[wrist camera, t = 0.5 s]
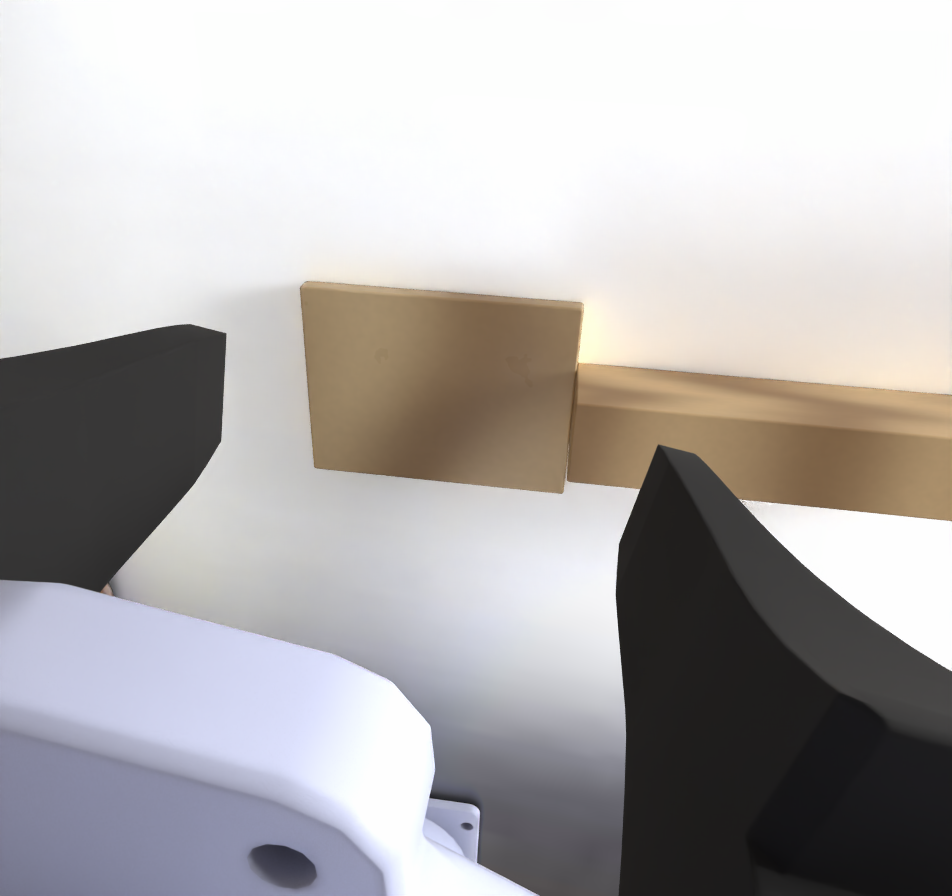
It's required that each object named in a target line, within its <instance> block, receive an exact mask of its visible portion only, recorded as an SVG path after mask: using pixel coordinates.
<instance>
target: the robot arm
mask: <svg viewBox="0 0 952 896" xmlns="http://www.w3.org/2000/svg"><path fill="white" fill-rule="evenodd" d="M225 353H226V333H223V332H219V331H215V330H211V329H207V328H203V327H199V326H195V325H191V324H186V325H174V326H168V327H162V328H156V329H151V330H146V331H141V332H137V333H132V334H128V335H123V336H118V337H114V338H109V339H105V340H100V341H95V342H91V343H86V344H81V345H76V346H71V347H65V348H60V349H55V350H49V351H44V352H38V353H33V354H27V355H22V356H16V357H10V358H3V359H0V896H539V895H537V894H535V893H533V892H531V891H529V890H528V889H526V888H524V887H522V886H520V885H518V884H516V883H514V882H512V881H510V880H508V879H506V878H504V877H503V876H501V875H499V874H497V873H495V872H493V871H491V870H489V869H487V868H485V867H483V866H481V865H479V864H478V863H477V853H478V837H479V821H480V811H479V809H478V808H477V807H476V806H474V805H472V804H467V803H460V802H454V801H447V800H440V799H433V798H429V796H430V792H431V787H432V782H433V778H434V773H435V763H434V754H433V745H432V736H431V727H430V725H429V724H428V723H427V722H426V720H425V719H424V718H423V717H422V716H421V715H420V713H419V712H418V711H417V710H416V709H415V708H414V707H413V705H412V704H411V703H410V702H409V701H408V700H407V698H406V697H405V696H404V695H403V694H402V693H401V691H400V690H399V689H398V688H397V687H396V686H395V685H394V683H392V682H391V681H390V680H388V679H386V678H384V677H382V676H380V675H378V674H376V673H373V672H371V671H369V670H367V669H365V668H363V667H361V666H359V665H356V664H354V663H352V662H350V661H348V660H346V659H344V658H342V657H340V656H337V655H335V654H331V653H328V652H324V651H320V650H316V649H312V648H308V647H305V646H301V645H297V644H293V643H289V642H286V641H282V640H278V639H274V638H270V637H267V636H263V635H259V634H255V633H251V632H247V631H244V630H240V629H236V628H232V627H228V626H225V625H221V624H217V623H213V622H209V621H205V620H202V619H198V618H194V617H190V616H186V615H183V614H179V613H175V612H171V611H167V610H163V609H160V608H156V607H152V606H148V605H144V604H141V603H137V602H133V601H129V600H125V599H121V598H118V597H114V596H110V595H106V594H102V593H100V592H101V591H102V590H103V588H104V587H105V586H106V585H107V583H108V582H109V581H110V580H111V578H112V577H113V576H114V575H115V574H116V572H117V571H118V570H119V569H120V568H121V567H122V566H123V565H124V563H125V562H126V561H127V560H128V559H129V558H130V557H131V556H132V554H133V553H134V552H135V551H136V550H137V549H138V548H139V547H140V545H141V544H142V543H143V542H144V541H145V540H146V539H147V538H148V536H149V535H150V534H151V533H152V532H153V531H154V530H155V529H156V527H157V526H158V525H159V524H160V523H161V522H162V521H163V520H164V518H165V517H166V516H167V515H168V514H169V513H170V512H171V510H172V509H173V508H174V507H175V506H176V505H177V504H178V502H179V501H180V500H181V499H182V498H183V497H184V496H185V494H186V493H187V492H188V491H189V490H190V488H191V487H192V486H193V485H194V483H195V482H196V480H197V479H198V477H199V476H200V474H201V473H202V471H203V470H204V468H205V467H206V465H207V464H208V462H209V460H210V459H211V457H212V455H213V454H214V452H215V450H216V449H217V447H218V445H219V444H220V442H221V434H222V414H223V393H224V373H225ZM616 605H617V618H618V631H619V642H620V654H621V665H622V677H623V688H624V700H625V714H626V762H625V794H624V814H623V835H622V855H621V870H620V884H619V896H952V671H950V670H948V669H946V668H945V667H943V666H941V665H940V664H938V663H936V662H935V661H933V660H932V659H930V658H928V657H927V656H925V655H924V654H922V653H920V652H919V651H917V650H915V649H914V648H912V647H911V646H909V645H908V644H906V643H905V642H903V641H902V640H901V639H899V638H898V637H896V636H895V635H893V634H892V633H890V632H889V631H887V630H886V629H884V628H883V627H881V626H880V625H879V624H877V623H876V622H874V621H873V620H871V619H870V618H869V617H867V616H866V615H864V614H863V613H862V612H860V611H859V610H858V609H856V608H855V607H854V606H852V605H851V604H850V603H848V602H847V601H846V600H845V599H844V598H842V597H841V596H840V595H839V594H837V593H836V592H835V591H834V590H832V589H831V588H830V587H829V586H827V585H826V584H825V583H824V582H823V581H821V580H820V579H819V578H818V577H816V576H815V575H814V574H813V573H812V572H811V571H810V570H808V569H807V568H806V567H805V566H804V565H803V564H802V563H801V562H800V561H799V560H797V559H796V558H795V557H794V556H793V555H792V554H791V553H790V552H789V551H788V550H787V549H786V548H785V547H784V546H783V545H782V544H781V543H780V542H779V541H778V540H777V539H776V538H775V537H774V536H773V535H772V534H771V533H770V532H769V531H768V530H767V529H766V528H765V527H764V526H763V525H762V524H761V523H760V522H759V521H758V520H757V519H756V518H755V517H754V516H753V515H752V513H751V512H750V511H749V510H748V509H747V508H746V507H745V506H744V505H743V504H742V503H741V501H740V500H739V499H738V498H737V497H736V496H735V495H734V494H733V493H732V492H731V490H730V489H729V488H728V487H727V486H726V485H725V484H724V483H723V481H722V480H721V479H720V478H719V477H718V476H717V475H716V474H715V473H714V472H713V470H712V469H711V468H710V467H709V466H708V465H707V464H706V463H705V462H704V461H703V460H702V459H701V458H700V457H698V456H697V455H696V454H694V453H690V452H687V451H683V450H679V449H675V448H671V447H667V446H663V445H659V444H658V446H657V448H656V451H655V453H654V456H653V458H652V461H651V463H650V466H649V469H648V471H647V474H646V476H645V479H644V481H643V484H642V486H641V489H640V492H639V494H638V497H637V499H636V502H635V504H634V507H633V510H632V512H631V515H630V517H629V520H628V522H627V525H626V527H625V530H624V533H623V535H622V538H621V540H620V543H619V552H618V565H617V580H616Z"/></svg>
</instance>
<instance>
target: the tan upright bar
mask: <svg viewBox="0 0 952 896" xmlns="http://www.w3.org/2000/svg"><path fill="white" fill-rule="evenodd" d="M300 295H301V308H302V320H303V333H304V346H305V358H306V371H307V383H308V396H309V409H310V421H311V434H312V447H313V459H314V467H315V468H318V469H328V470H338V471H347V472H357V473H366V474H376V475H386V476H395V477H405V478H414V479H424V480H434V481H443V482H453V483H462V484H472V485H482V486H491V487H501V488H510V489H520V490H530V491H539V492H549V493H559V494H562V493H563V492H564V483H565V474H566V465H567V456H568V468H567V481H568V482H576V483H586V484H595V485H605V486H615V487H625V488H634V489H641V486H642V484H643V481H644V479H645V476H646V474H647V471H648V469H649V466H650V463H651V461H652V458H653V456H654V453H655V451H656V448H657V446H658V444H659V445H663V446H667V447H671V448H675V449H679V450H683V451H687V452H690V453H694V454H696V455H697V456H698V457H700V458H701V459H702V460H703V461H704V462H705V463H706V464H707V465H708V466H709V467H710V468H711V469H712V470H713V472H714V473H715V474H716V475H717V476H718V477H719V478H720V479H721V480H722V481H723V483H724V484H725V485H726V486H727V487H728V488H729V489H730V490H731V492H732V493H733V494H734V495H735V496H736V497H737V498H738V499H742V500H752V501H761V502H771V503H781V504H791V505H800V506H810V507H820V508H830V509H839V510H849V511H859V512H869V513H879V514H888V515H898V516H908V517H918V518H927V519H937V520H947V521H952V395H943V394H932V393H920V392H909V391H897V390H885V389H874V388H862V387H851V386H839V385H828V384H816V383H804V382H793V381H781V380H770V379H758V378H747V377H735V376H723V375H712V374H700V373H689V372H677V371H666V370H654V369H643V368H631V367H619V366H608V365H596V364H585V363H578V357H579V348H580V339H581V330H582V321H583V312H584V304H583V303H580V302H567V301H555V300H542V299H529V298H516V297H504V296H491V295H478V294H465V293H453V292H440V291H427V290H414V289H402V288H389V287H376V286H363V285H351V284H338V283H325V282H312V281H306V282H305V283H304V284H303V285H302V286H300ZM568 447H569V452H568Z"/></svg>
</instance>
